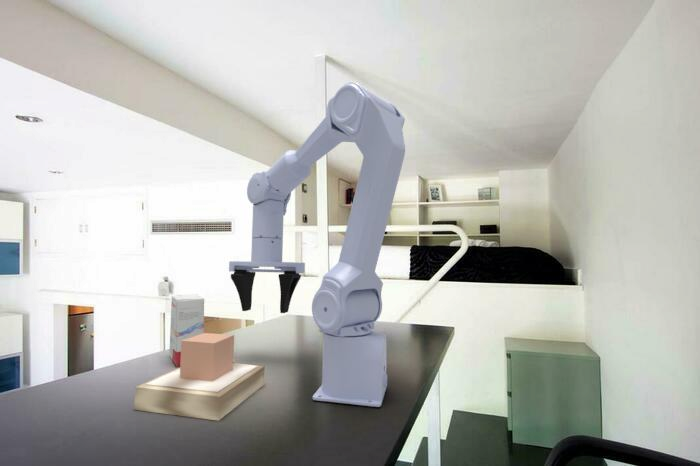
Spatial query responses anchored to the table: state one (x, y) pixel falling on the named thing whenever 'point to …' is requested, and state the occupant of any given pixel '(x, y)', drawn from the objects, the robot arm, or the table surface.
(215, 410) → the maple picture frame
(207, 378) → the terracotta cube
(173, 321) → the ink box
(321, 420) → the table surface
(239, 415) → the table surface
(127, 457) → the table surface
